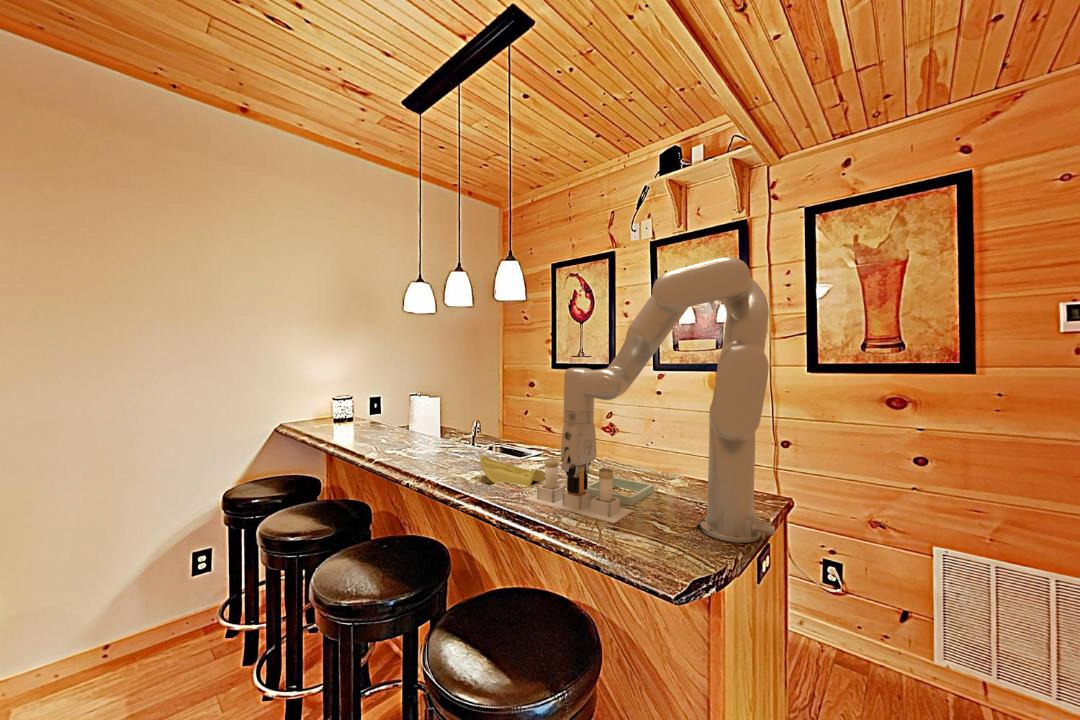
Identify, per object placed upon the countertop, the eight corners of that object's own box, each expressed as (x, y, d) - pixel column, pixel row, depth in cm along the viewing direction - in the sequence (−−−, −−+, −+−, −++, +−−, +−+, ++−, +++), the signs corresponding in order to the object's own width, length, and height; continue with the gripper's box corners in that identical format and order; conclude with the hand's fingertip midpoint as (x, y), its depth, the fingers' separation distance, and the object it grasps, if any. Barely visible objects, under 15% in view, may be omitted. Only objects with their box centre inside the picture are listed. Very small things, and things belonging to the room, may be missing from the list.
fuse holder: (546, 495, 128) (546, 478, 128) (633, 516, 112) (633, 498, 112) (523, 504, 120) (524, 487, 120) (614, 529, 104) (614, 509, 104)
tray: (653, 497, 127) (653, 484, 127) (631, 511, 116) (631, 497, 116) (608, 487, 136) (608, 475, 135) (583, 499, 124) (583, 486, 124)
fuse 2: (614, 511, 112) (615, 470, 111) (608, 515, 109) (609, 473, 109) (602, 508, 114) (603, 467, 113) (595, 512, 111) (596, 470, 111)
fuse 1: (560, 497, 121) (560, 459, 121) (552, 501, 118) (553, 462, 118) (549, 495, 123) (550, 457, 123) (541, 498, 120) (542, 460, 120)
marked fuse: (586, 504, 116) (587, 464, 116) (579, 507, 114) (579, 467, 113) (574, 501, 118) (575, 462, 118) (567, 504, 116) (568, 465, 115)
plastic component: (548, 475, 140) (534, 467, 132) (541, 499, 137) (526, 493, 129) (494, 461, 150) (478, 453, 142) (487, 484, 147) (470, 477, 139)
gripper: (573, 423, 107) (572, 502, 107) (607, 415, 120) (606, 485, 120) (547, 419, 111) (545, 495, 112) (582, 412, 124) (581, 480, 125)
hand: (577, 489), depth 116 cm, fingers closed on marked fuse, 3 cm apart
